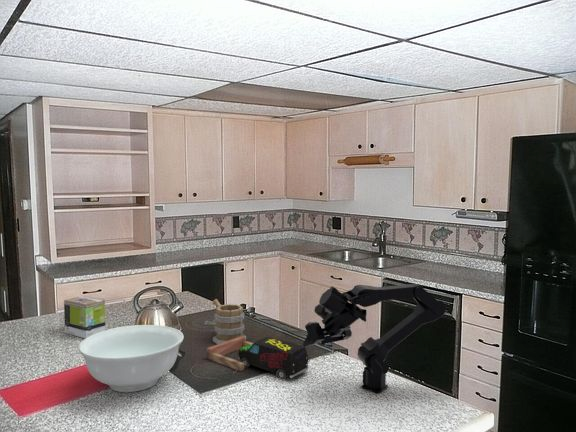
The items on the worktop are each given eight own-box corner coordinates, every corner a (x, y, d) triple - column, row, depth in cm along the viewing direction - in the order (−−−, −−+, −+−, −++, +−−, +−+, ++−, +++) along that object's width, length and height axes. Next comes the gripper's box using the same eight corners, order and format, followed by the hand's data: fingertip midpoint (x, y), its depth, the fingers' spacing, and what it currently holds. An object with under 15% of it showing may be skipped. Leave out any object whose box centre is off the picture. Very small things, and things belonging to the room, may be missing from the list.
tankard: (250, 342, 195) (250, 306, 194) (222, 348, 188) (222, 310, 187) (228, 329, 211) (228, 295, 210) (201, 334, 204) (201, 299, 203)
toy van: (256, 356, 180) (256, 330, 179) (310, 373, 165) (310, 344, 164) (236, 364, 172) (236, 337, 171) (291, 383, 157) (291, 353, 156)
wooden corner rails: (275, 356, 179) (275, 346, 179) (241, 371, 165) (241, 360, 165) (241, 345, 191) (241, 335, 190) (206, 358, 177) (206, 348, 177)
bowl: (79, 371, 165) (78, 330, 163) (174, 358, 177) (174, 319, 176) (79, 414, 135) (78, 364, 134) (193, 394, 148) (193, 348, 147)
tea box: (106, 333, 205) (105, 299, 204) (85, 339, 196) (84, 304, 195) (84, 327, 213) (84, 294, 212) (63, 333, 204) (62, 299, 203)
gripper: (349, 297, 162) (319, 321, 169) (313, 297, 148) (283, 324, 156) (365, 325, 156) (334, 350, 163) (330, 328, 143) (297, 355, 150)
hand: (312, 344), depth 158 cm, fingers open, 9 cm apart
